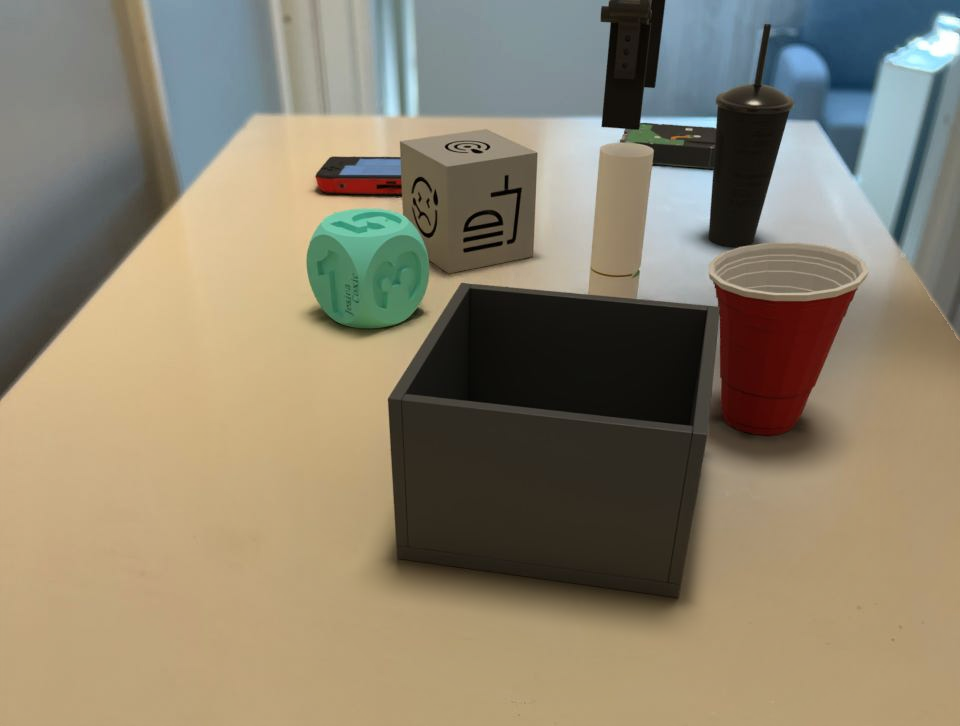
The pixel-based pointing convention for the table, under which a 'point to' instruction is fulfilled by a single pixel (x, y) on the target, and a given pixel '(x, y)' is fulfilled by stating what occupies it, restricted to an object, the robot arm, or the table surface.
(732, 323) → the plastic cup
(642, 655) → the table surface
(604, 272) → the tube
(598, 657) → the table surface
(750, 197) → the drinking cup
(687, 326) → the bin
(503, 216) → the icon cube
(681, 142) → the disk drive
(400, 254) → the decorative dice
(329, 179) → the game console
